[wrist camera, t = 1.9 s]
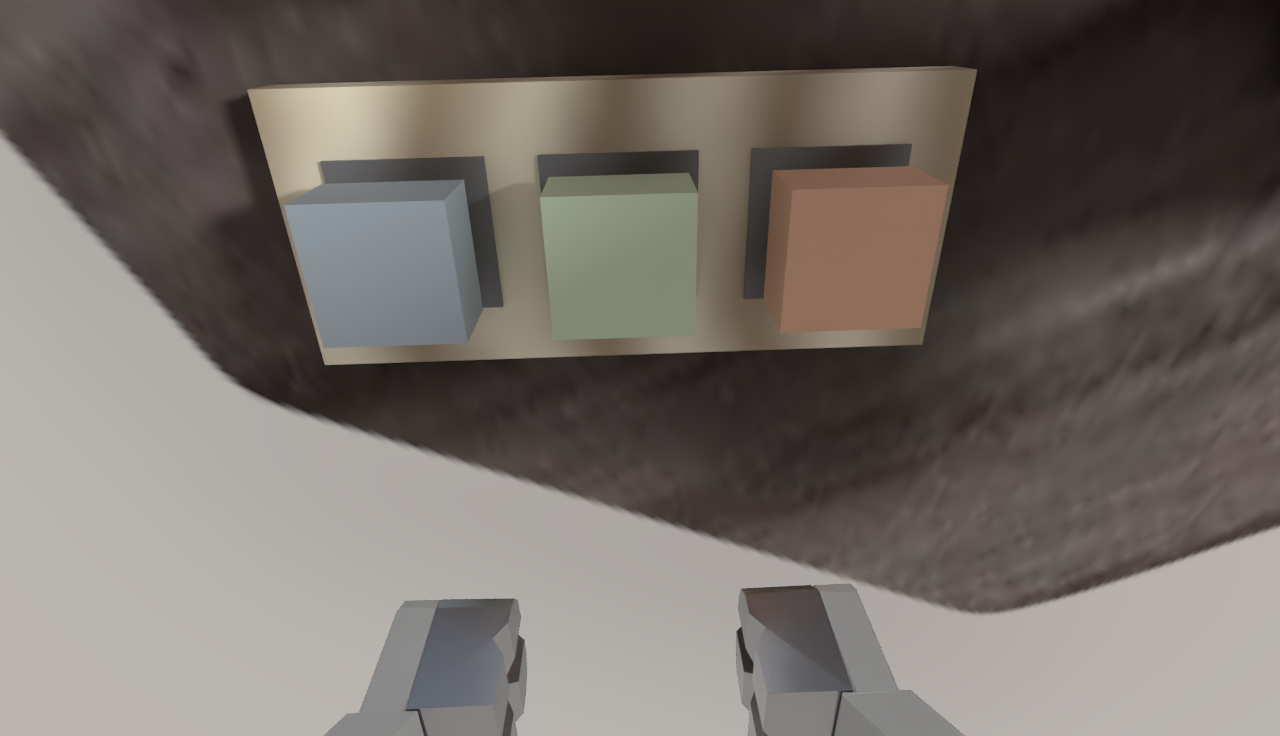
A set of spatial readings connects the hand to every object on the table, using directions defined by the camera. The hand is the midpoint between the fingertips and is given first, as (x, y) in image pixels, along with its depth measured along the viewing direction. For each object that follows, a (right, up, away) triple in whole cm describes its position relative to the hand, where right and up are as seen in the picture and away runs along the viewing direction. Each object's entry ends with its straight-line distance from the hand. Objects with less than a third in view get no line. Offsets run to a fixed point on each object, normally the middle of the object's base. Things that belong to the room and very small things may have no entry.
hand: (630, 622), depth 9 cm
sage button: (-1, +8, +15) cm, 17 cm away
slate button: (-9, +8, +15) cm, 19 cm away
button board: (-1, +10, +19) cm, 21 cm away
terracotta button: (+7, +8, +16) cm, 19 cm away
